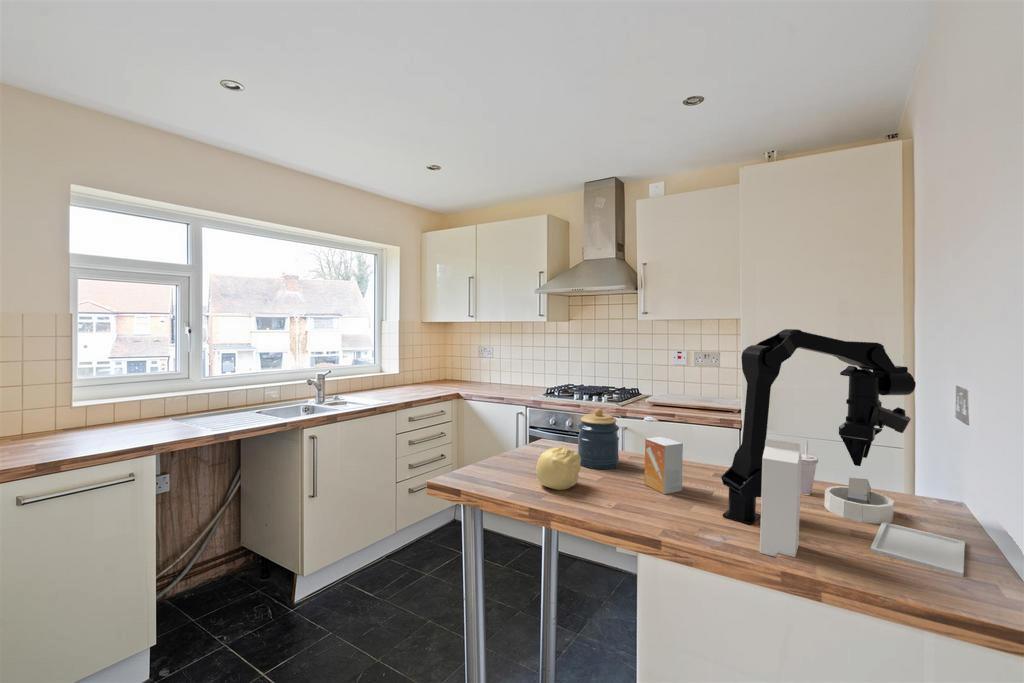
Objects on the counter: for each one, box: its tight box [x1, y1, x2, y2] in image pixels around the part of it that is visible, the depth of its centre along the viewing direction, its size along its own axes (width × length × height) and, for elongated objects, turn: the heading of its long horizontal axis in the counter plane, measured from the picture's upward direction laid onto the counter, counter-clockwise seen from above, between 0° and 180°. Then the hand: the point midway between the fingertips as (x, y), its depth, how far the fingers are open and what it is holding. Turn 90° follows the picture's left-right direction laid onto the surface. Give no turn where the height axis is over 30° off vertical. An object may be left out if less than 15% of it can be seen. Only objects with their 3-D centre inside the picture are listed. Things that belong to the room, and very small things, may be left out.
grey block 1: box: [848, 477, 872, 504], centre depth 112 cm, size 4×4×4 cm
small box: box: [643, 436, 684, 495], centre depth 127 cm, size 8×6×13 cm
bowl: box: [824, 485, 895, 525], centre depth 110 cm, size 13×13×5 cm
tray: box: [869, 522, 966, 578], centre depth 92 cm, size 17×13×2 cm
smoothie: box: [800, 440, 819, 495], centre depth 124 cm, size 6×6×14 cm
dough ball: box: [535, 445, 582, 491], centre depth 129 cm, size 12×12×11 cm
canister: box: [577, 407, 620, 470], centre depth 149 cm, size 13×13×18 cm
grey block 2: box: [847, 492, 867, 504], centre depth 108 cm, size 4×4×4 cm
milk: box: [759, 438, 802, 558], centre depth 92 cm, size 6×6×22 cm
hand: (860, 461), depth 110 cm, fingers open, 9 cm apart
